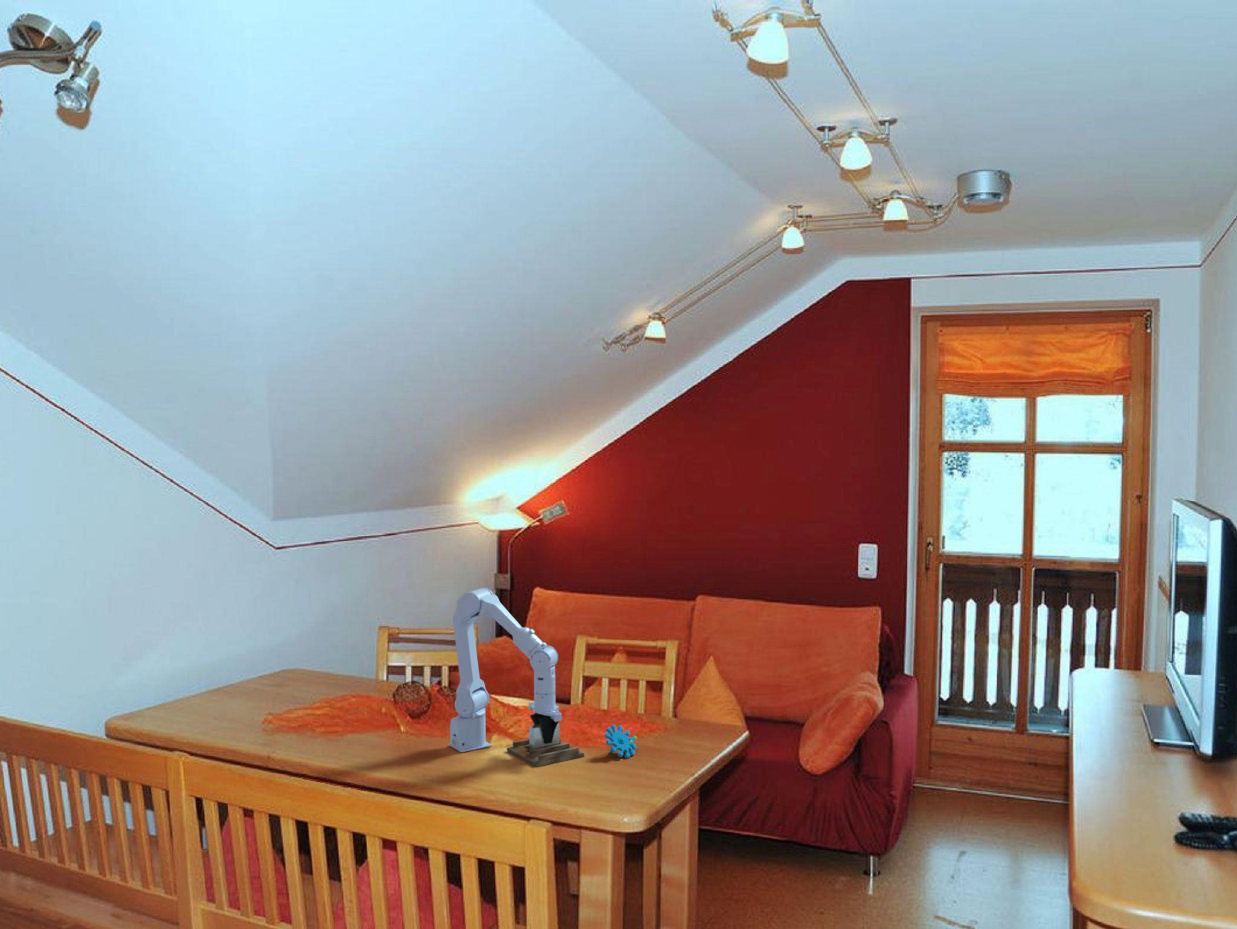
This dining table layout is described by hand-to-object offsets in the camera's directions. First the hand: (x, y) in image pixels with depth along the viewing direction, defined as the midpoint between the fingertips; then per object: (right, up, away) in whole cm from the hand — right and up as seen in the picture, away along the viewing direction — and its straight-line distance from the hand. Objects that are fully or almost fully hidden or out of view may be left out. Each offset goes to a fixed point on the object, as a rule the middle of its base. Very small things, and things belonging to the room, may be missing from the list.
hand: (545, 741), depth 283 cm
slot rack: (0, -3, 0) cm, 3 cm away
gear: (+21, -4, 0) cm, 21 cm away
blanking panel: (0, -2, 0) cm, 2 cm away
